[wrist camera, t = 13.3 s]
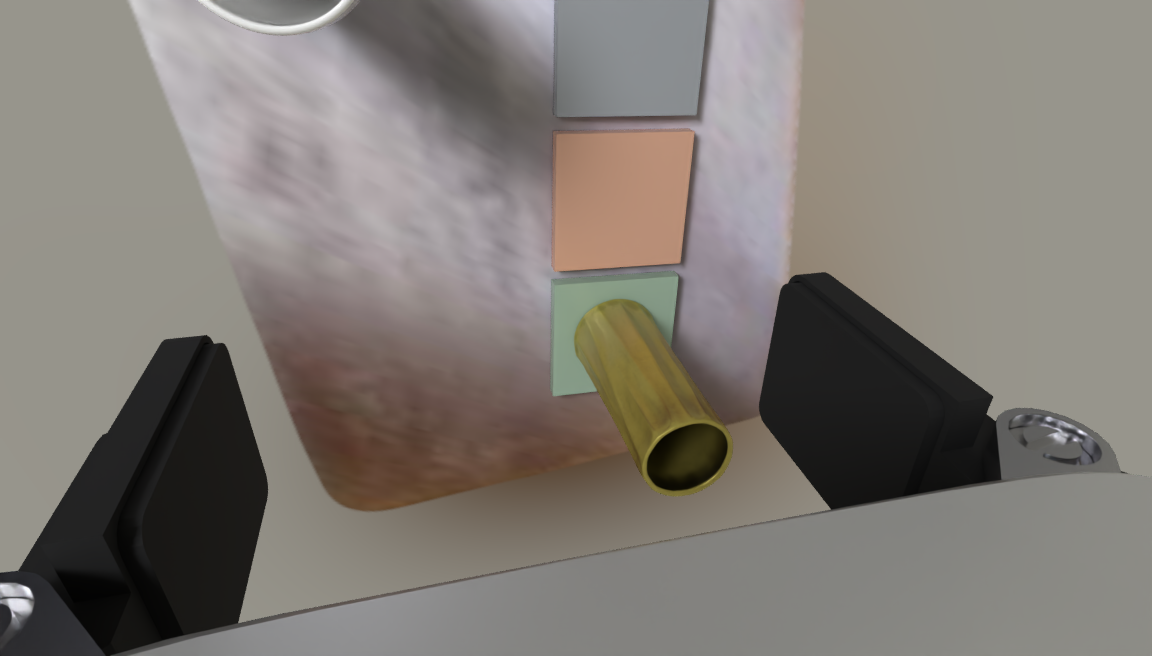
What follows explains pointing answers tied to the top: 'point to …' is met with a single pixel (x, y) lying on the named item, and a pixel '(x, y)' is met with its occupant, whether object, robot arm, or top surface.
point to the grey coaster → (628, 57)
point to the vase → (652, 399)
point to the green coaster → (584, 294)
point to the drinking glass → (281, 14)
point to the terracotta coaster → (619, 197)
